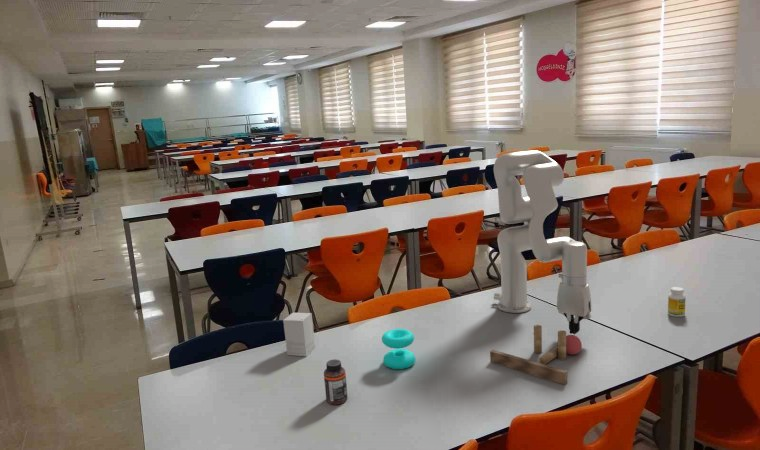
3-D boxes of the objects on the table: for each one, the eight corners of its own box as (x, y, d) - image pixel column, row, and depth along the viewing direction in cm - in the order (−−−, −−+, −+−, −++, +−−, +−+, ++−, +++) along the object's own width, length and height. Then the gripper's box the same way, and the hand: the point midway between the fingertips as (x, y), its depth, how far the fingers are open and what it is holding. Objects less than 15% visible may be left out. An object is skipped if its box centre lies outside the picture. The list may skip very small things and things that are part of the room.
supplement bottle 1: (326, 395, 154) (322, 358, 152) (347, 393, 155) (344, 356, 152) (326, 406, 148) (322, 368, 146) (348, 404, 149) (344, 365, 146)
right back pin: (556, 358, 167) (556, 332, 165) (560, 355, 168) (560, 329, 167) (563, 360, 165) (563, 334, 163) (567, 357, 167) (567, 331, 165)
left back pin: (532, 352, 172) (532, 326, 171) (536, 349, 174) (536, 324, 172) (539, 353, 171) (539, 328, 169) (543, 351, 172) (543, 325, 171)
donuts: (403, 324, 175) (419, 334, 167) (405, 353, 177) (421, 365, 169) (375, 332, 171) (391, 343, 162) (378, 361, 173) (393, 374, 164)
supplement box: (316, 347, 187) (312, 312, 184) (306, 357, 180) (302, 321, 177) (296, 346, 189) (293, 311, 187) (286, 355, 182) (282, 319, 180)
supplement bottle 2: (672, 310, 198) (673, 285, 196) (687, 314, 193) (689, 288, 191) (664, 314, 195) (665, 288, 193) (679, 318, 190) (680, 292, 188)
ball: (568, 341, 165) (575, 328, 168) (554, 346, 169) (561, 333, 173) (581, 356, 165) (588, 343, 168) (567, 360, 169) (574, 347, 173)
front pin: (553, 346, 170) (539, 356, 164) (560, 348, 168) (546, 357, 163) (553, 354, 170) (539, 363, 165) (561, 355, 169) (546, 365, 163)
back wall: (490, 361, 168) (490, 351, 167) (493, 360, 169) (492, 349, 168) (564, 384, 151) (564, 373, 150) (567, 382, 152) (567, 371, 151)
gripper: (547, 278, 180) (547, 331, 184) (592, 286, 170) (591, 341, 173) (558, 273, 185) (558, 324, 189) (602, 280, 175) (601, 334, 179)
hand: (574, 332), depth 181 cm, fingers closed
